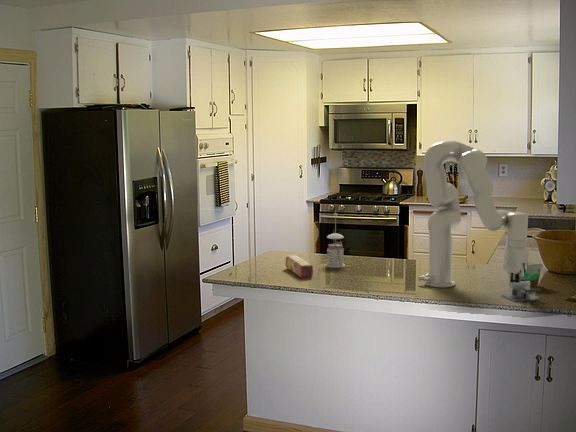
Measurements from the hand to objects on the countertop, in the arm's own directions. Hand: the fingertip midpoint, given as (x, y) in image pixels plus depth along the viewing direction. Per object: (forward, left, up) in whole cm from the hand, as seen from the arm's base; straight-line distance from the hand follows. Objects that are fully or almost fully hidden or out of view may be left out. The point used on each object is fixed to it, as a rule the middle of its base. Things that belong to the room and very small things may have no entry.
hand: (514, 289), depth 282 cm
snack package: (-71, +60, -3) cm, 93 cm away
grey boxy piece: (+1, -8, -1) cm, 8 cm away
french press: (-50, +70, -3) cm, 86 cm away
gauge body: (0, -4, -3) cm, 5 cm away
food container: (+13, +11, -3) cm, 17 cm away
